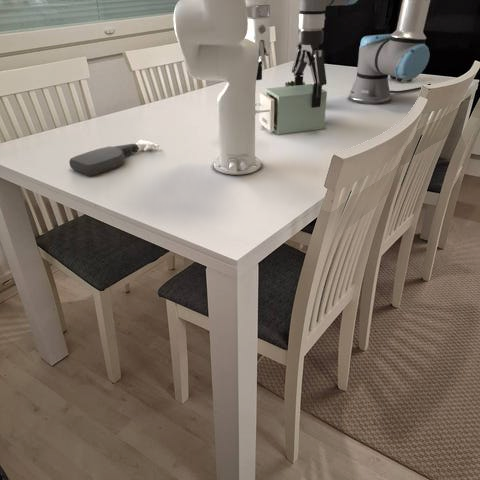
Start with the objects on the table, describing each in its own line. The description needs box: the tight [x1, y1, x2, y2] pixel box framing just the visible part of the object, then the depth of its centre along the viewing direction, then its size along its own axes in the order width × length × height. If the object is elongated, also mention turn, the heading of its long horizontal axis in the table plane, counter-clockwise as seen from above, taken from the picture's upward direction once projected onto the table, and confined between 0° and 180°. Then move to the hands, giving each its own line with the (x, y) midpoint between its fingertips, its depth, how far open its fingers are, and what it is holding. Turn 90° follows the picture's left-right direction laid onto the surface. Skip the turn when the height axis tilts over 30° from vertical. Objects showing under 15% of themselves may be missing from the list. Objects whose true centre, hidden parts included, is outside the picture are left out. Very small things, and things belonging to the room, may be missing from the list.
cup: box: [284, 80, 306, 87], centre depth 167 cm, size 8×7×8 cm
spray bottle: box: [68, 139, 160, 177], centre depth 124 cm, size 3×11×24 cm
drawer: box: [255, 92, 278, 133], centre depth 143 cm, size 21×10×10 cm, turn 108°
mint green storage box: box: [265, 83, 328, 135], centre depth 144 cm, size 16×11×12 cm
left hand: (256, 79), depth 135 cm, fingers closed
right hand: (306, 101), depth 144 cm, fingers open, 13 cm apart
